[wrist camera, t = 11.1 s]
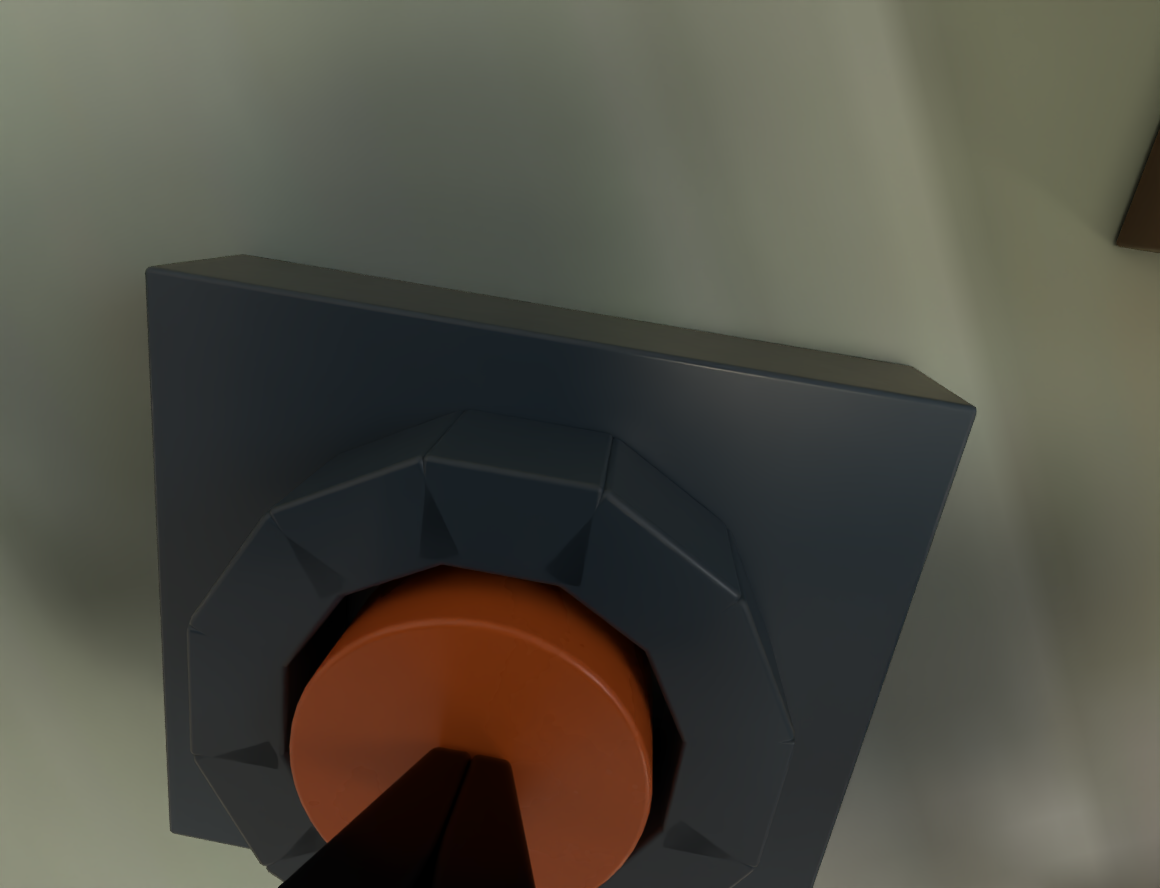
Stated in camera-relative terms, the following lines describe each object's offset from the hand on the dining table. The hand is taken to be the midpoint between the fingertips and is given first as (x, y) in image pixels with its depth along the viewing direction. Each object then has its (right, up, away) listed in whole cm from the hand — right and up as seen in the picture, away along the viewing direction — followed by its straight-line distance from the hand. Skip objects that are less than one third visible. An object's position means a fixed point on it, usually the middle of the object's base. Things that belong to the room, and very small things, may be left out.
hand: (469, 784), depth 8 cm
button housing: (0, +1, +4) cm, 4 cm away
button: (0, +1, +2) cm, 2 cm away
